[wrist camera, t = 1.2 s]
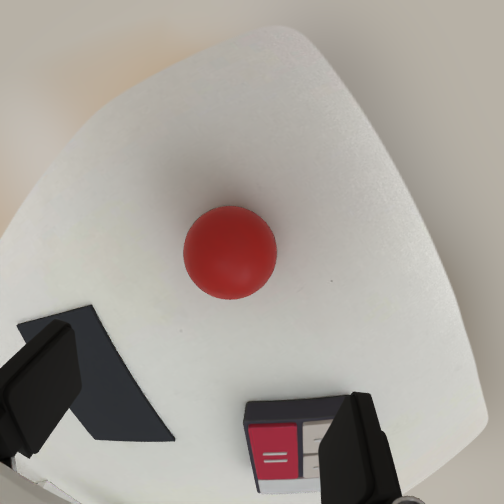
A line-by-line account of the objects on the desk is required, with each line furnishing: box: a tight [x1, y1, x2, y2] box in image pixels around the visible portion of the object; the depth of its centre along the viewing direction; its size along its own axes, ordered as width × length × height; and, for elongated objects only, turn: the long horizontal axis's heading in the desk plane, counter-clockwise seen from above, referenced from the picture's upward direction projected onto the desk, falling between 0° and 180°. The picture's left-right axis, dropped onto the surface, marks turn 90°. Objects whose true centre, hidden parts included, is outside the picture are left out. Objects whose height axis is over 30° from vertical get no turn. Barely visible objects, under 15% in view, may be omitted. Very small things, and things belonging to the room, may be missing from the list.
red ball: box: [183, 206, 277, 300], centre depth 22 cm, size 6×6×6 cm
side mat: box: [17, 305, 175, 442], centre depth 32 cm, size 20×14×1 cm
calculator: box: [243, 395, 347, 494], centre depth 31 cm, size 11×4×15 cm
